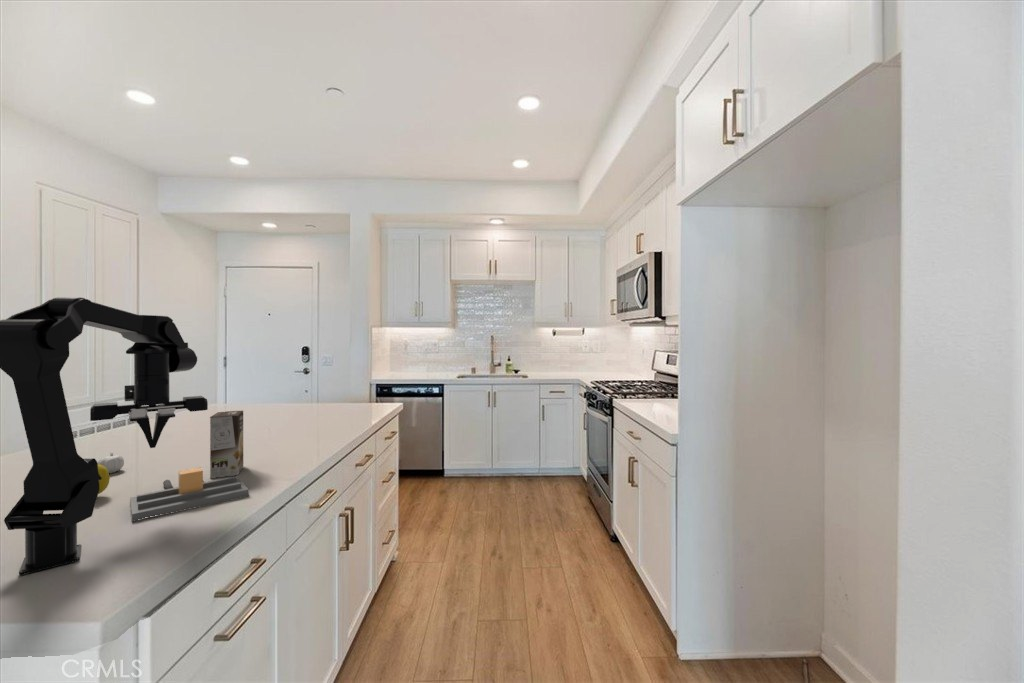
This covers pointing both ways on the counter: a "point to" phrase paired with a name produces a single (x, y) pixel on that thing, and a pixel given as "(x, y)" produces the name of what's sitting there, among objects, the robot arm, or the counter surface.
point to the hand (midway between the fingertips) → (152, 447)
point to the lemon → (103, 478)
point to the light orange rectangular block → (190, 480)
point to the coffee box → (226, 443)
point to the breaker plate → (186, 498)
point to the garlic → (112, 462)
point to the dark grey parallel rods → (168, 484)
